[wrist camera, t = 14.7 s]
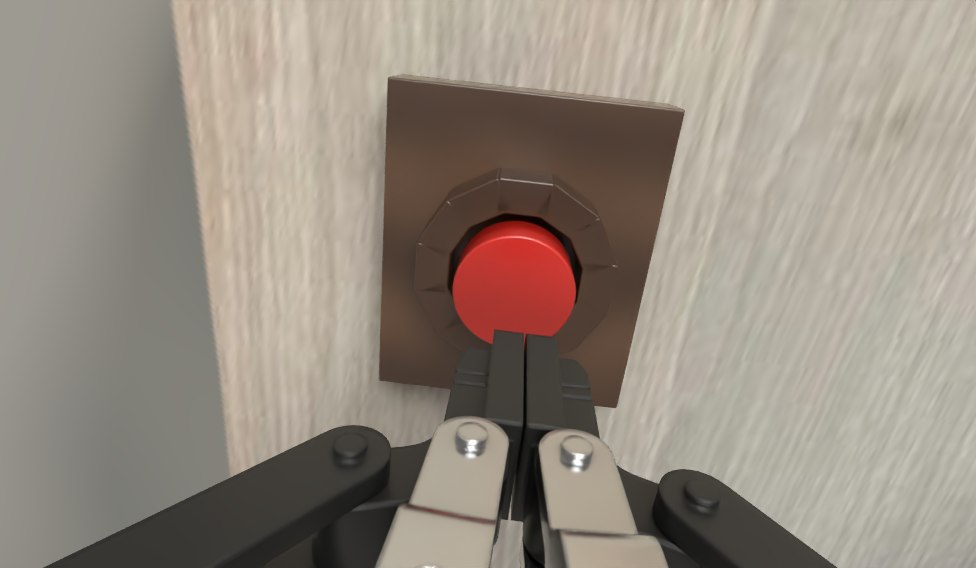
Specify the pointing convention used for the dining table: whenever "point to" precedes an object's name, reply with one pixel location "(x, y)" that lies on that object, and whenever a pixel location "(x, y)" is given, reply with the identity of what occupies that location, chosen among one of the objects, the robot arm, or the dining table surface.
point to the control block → (518, 213)
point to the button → (514, 281)
